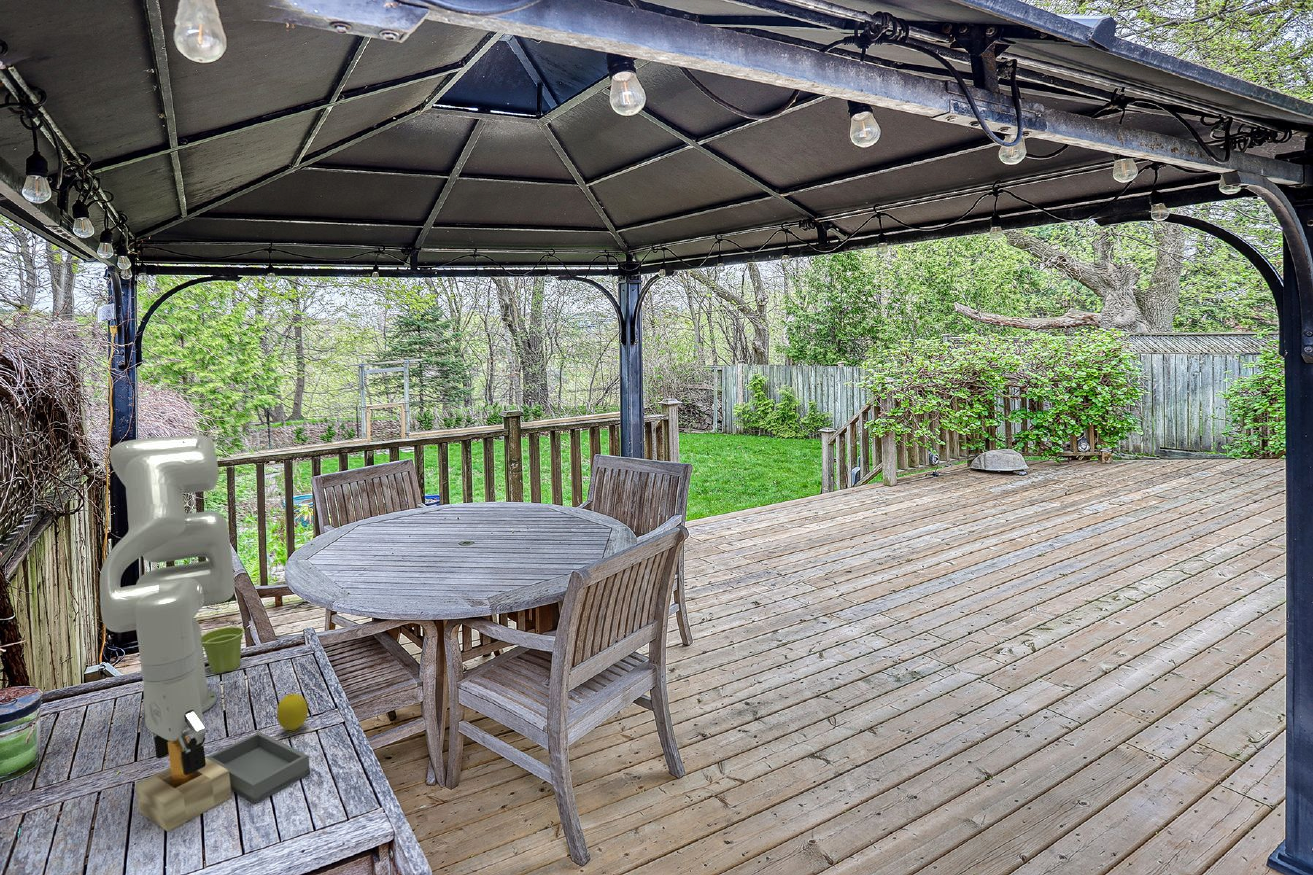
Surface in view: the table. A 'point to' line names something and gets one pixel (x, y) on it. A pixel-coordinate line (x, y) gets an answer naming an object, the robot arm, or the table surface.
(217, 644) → the plant pot
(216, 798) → the pin block
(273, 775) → the tray
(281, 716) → the lemon
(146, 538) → the robot arm
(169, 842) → the table surface
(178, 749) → the pin
